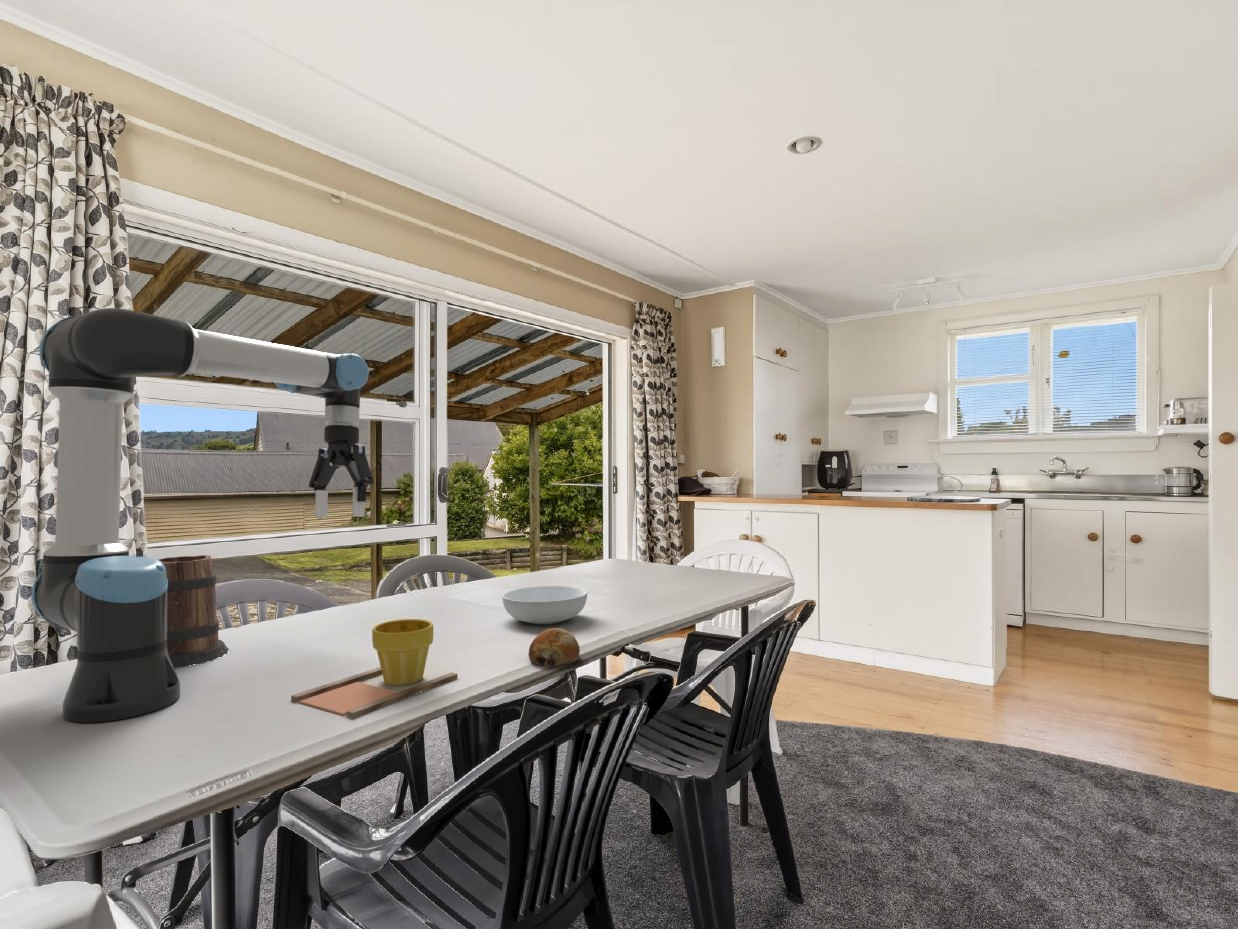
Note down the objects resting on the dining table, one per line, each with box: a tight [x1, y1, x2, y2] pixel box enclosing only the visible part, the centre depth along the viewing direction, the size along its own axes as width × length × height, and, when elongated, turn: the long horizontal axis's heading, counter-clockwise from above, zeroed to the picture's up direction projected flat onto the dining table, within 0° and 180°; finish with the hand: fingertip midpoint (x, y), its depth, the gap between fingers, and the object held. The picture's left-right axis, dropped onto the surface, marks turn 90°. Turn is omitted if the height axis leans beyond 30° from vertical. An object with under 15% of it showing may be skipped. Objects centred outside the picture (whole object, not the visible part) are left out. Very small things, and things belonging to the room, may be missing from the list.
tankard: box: [158, 554, 230, 669], centre depth 138 cm, size 24×17×20 cm
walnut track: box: [290, 666, 459, 719], centre depth 115 cm, size 22×16×1 cm
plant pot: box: [371, 618, 434, 687], centre depth 120 cm, size 10×10×10 cm
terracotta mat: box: [299, 681, 398, 716], centre depth 110 cm, size 11×11×1 cm
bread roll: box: [527, 627, 581, 667], centre depth 132 cm, size 10×10×8 cm
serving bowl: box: [501, 585, 588, 625], centre depth 165 cm, size 21×21×7 cm
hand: (339, 517), depth 155 cm, fingers open, 13 cm apart
